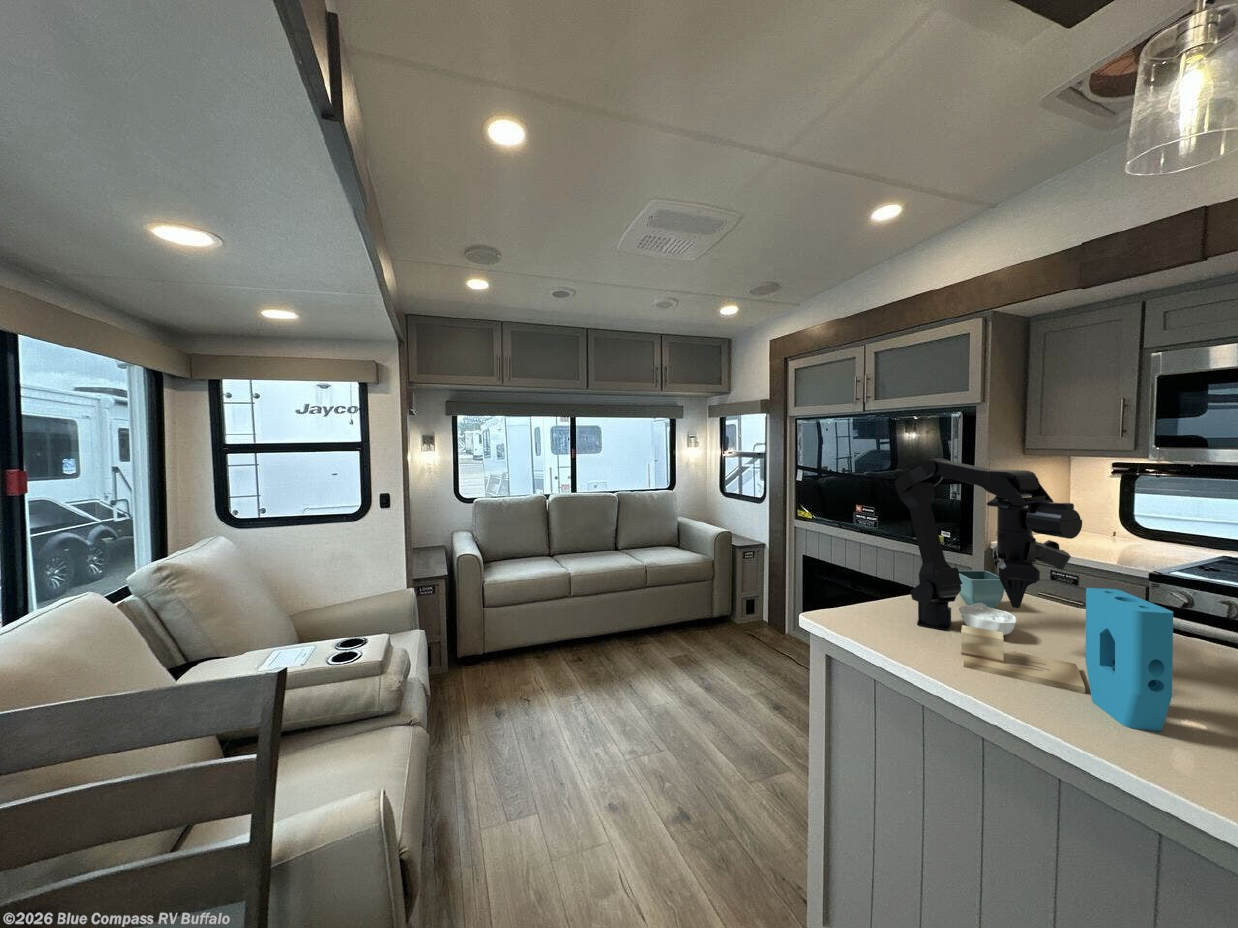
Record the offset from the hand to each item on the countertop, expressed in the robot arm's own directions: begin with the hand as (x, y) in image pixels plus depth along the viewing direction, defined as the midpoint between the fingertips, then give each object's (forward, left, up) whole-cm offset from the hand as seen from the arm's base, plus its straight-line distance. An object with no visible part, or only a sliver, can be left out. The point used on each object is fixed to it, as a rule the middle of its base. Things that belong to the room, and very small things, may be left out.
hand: (1013, 600), depth 98 cm
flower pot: (-6, +34, -13) cm, 37 cm away
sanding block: (-5, -5, -11) cm, 13 cm away
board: (+1, -5, -13) cm, 14 cm away
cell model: (-4, +13, -13) cm, 19 cm away
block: (+14, -16, -13) cm, 24 cm away
